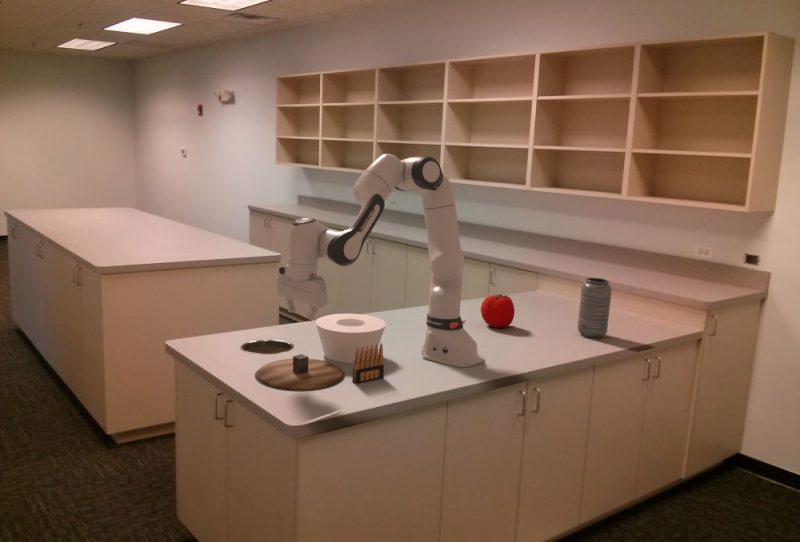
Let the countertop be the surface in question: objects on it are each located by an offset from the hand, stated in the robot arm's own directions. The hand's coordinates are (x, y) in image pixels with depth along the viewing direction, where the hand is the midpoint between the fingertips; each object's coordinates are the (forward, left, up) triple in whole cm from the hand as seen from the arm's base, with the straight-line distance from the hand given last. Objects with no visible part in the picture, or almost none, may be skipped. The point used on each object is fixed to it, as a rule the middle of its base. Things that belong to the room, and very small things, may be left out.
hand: (301, 315), depth 211 cm
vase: (-38, -120, -20) cm, 127 cm away
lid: (0, 0, -19) cm, 19 cm away
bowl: (+5, -26, -20) cm, 33 cm away
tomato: (-5, -100, -20) cm, 102 cm away
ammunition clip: (-17, -13, -20) cm, 29 cm away
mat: (0, 0, -20) cm, 20 cm away
